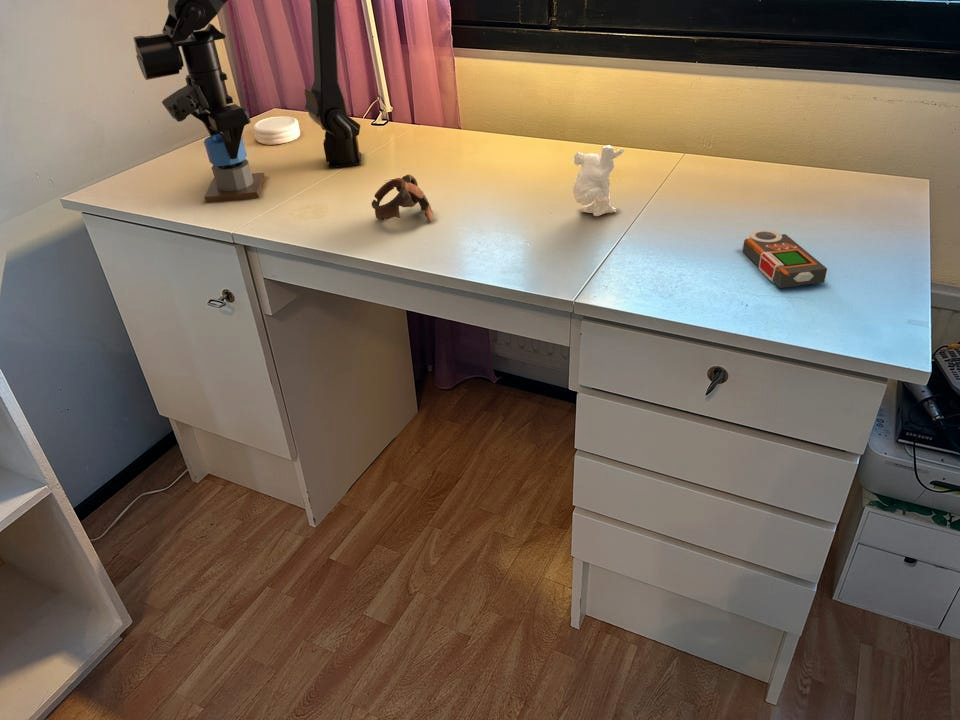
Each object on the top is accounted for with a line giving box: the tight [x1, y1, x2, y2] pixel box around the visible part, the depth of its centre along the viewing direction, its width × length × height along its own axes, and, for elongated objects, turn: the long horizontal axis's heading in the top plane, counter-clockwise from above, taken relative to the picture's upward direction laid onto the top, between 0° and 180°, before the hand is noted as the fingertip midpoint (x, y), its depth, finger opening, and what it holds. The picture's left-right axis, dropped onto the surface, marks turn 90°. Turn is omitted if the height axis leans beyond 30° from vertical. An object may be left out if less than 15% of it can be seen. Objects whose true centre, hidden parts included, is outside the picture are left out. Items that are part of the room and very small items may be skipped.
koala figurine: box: [572, 144, 625, 217], centre depth 124 cm, size 8×7×12 cm
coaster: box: [253, 115, 301, 146], centre depth 166 cm, size 10×10×4 cm
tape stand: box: [203, 164, 266, 204], centre depth 141 cm, size 10×10×8 cm
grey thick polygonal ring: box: [211, 159, 253, 191], centre depth 142 cm, size 7×7×4 cm
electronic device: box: [742, 229, 828, 289], centre depth 109 cm, size 7×3×15 cm
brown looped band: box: [371, 174, 434, 223], centre depth 128 cm, size 12×10×8 cm
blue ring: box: [203, 134, 247, 166], centre depth 139 cm, size 7×7×4 cm
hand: (227, 153), depth 140 cm, fingers closed on blue ring, 7 cm apart
